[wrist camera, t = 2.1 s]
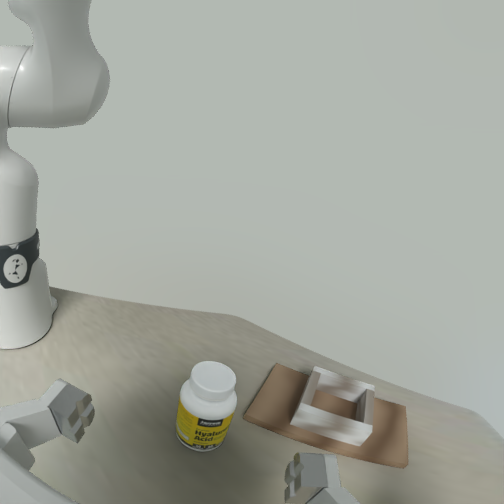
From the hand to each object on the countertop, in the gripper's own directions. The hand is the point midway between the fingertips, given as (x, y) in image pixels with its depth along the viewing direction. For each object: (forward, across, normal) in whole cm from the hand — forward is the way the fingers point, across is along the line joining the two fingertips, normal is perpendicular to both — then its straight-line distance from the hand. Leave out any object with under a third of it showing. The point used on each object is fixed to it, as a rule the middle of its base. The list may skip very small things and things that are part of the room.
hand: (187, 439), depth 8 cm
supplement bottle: (+12, 0, +18) cm, 21 cm away
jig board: (+19, -16, +17) cm, 30 cm away
